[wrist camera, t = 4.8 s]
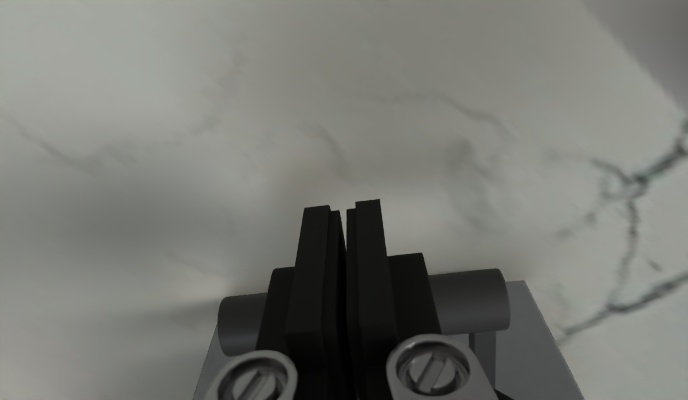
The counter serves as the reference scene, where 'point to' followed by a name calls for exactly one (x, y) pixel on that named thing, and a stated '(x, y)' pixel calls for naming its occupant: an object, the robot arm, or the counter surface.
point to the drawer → (455, 321)
